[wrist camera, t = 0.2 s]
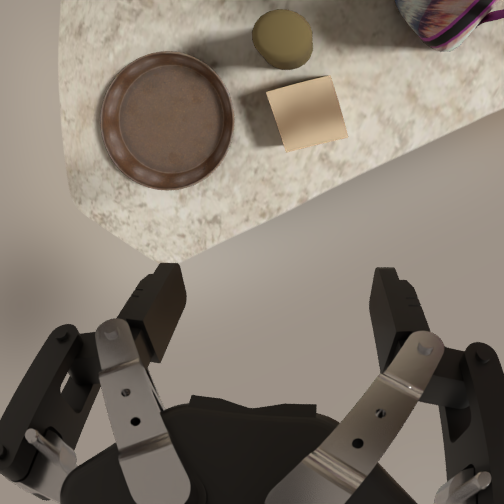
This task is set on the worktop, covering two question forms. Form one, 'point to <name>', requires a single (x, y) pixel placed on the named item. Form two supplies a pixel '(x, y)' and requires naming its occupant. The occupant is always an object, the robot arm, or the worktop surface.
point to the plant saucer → (167, 120)
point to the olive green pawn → (283, 39)
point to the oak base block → (307, 113)
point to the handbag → (446, 19)
